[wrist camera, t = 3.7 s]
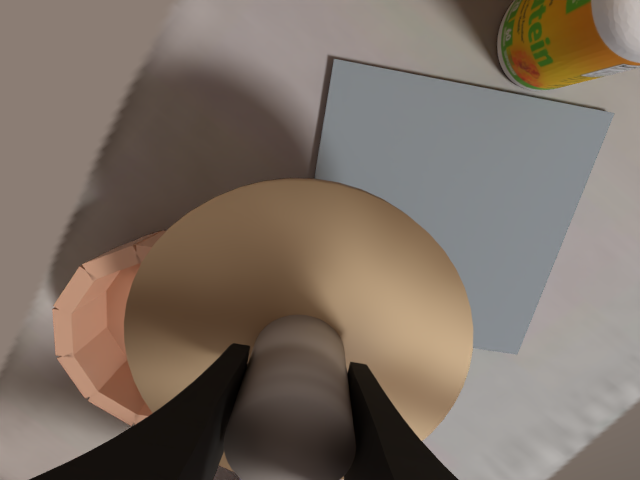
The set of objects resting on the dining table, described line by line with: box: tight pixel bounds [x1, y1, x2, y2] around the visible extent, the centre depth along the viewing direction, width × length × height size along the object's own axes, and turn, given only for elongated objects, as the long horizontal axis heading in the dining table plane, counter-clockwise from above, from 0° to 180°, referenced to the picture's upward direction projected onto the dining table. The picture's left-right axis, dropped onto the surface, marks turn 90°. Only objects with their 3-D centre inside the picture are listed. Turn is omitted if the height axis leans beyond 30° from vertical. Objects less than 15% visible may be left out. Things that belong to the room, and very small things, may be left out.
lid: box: [124, 178, 473, 480], centre depth 11 cm, size 14×14×5 cm
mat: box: [314, 59, 614, 354], centre depth 20 cm, size 16×16×1 cm
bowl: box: [52, 231, 166, 426], centre depth 20 cm, size 12×12×4 cm
